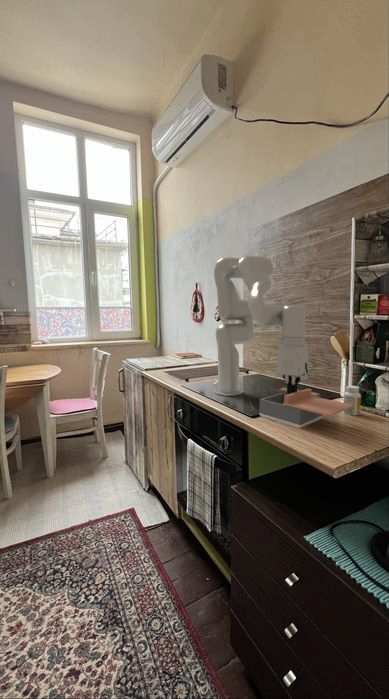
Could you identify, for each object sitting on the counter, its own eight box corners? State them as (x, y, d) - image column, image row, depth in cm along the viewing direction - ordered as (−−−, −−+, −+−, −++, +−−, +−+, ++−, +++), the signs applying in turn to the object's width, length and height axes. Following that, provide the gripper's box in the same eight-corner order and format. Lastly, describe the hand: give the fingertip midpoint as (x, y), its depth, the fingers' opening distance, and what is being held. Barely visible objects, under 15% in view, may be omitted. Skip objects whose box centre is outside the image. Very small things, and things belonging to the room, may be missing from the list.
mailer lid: (283, 404, 102) (283, 395, 101) (307, 396, 111) (307, 388, 110) (330, 416, 89) (330, 406, 89) (353, 406, 98) (353, 397, 98)
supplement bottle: (355, 410, 114) (356, 385, 113) (362, 415, 109) (364, 388, 108) (340, 410, 114) (341, 385, 113) (347, 415, 109) (348, 388, 108)
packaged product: (274, 389, 129) (284, 385, 137) (274, 401, 130) (284, 396, 137) (318, 396, 118) (326, 391, 125) (317, 409, 118) (326, 403, 126)
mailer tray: (259, 415, 110) (259, 399, 109) (282, 407, 119) (283, 392, 118) (299, 428, 98) (300, 409, 97) (322, 418, 107) (323, 401, 106)
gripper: (268, 341, 108) (267, 392, 110) (307, 344, 97) (305, 401, 99) (281, 340, 113) (280, 389, 115) (319, 342, 102) (317, 397, 104)
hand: (291, 394), depth 107 cm, fingers closed
